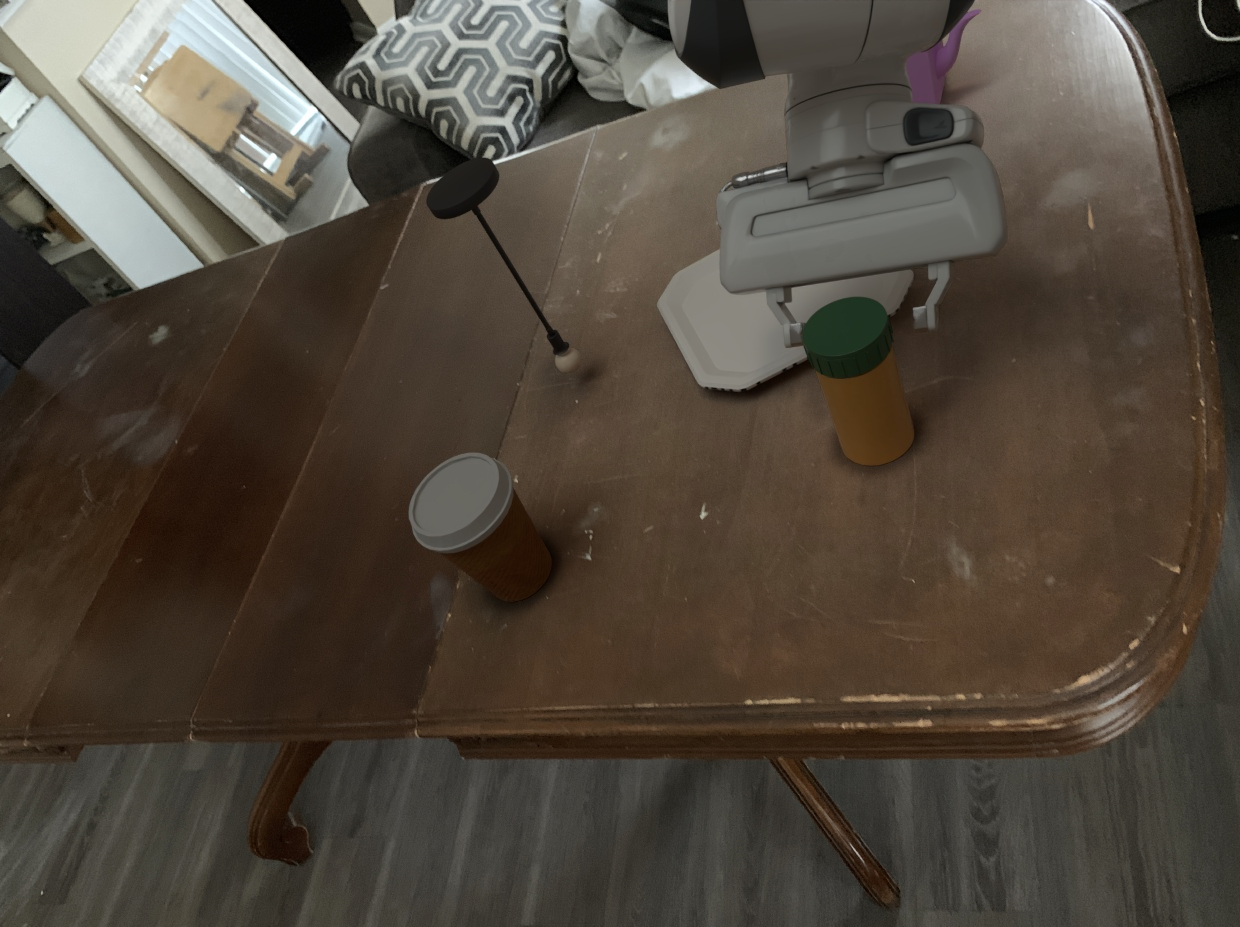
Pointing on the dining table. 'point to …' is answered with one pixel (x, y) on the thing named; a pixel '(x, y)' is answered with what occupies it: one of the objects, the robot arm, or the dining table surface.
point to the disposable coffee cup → (480, 525)
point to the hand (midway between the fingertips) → (859, 339)
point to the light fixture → (490, 232)
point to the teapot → (935, 65)
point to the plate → (752, 322)
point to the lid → (848, 337)
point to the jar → (870, 413)
